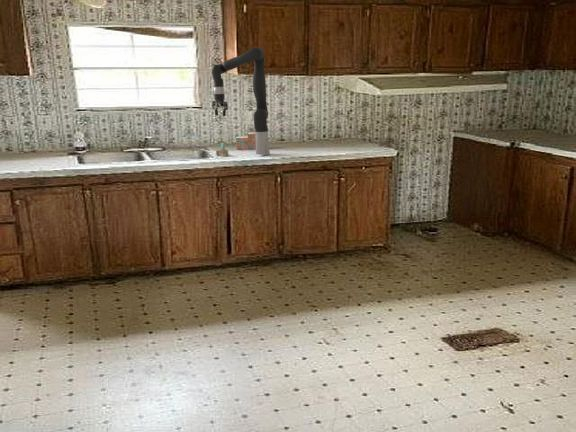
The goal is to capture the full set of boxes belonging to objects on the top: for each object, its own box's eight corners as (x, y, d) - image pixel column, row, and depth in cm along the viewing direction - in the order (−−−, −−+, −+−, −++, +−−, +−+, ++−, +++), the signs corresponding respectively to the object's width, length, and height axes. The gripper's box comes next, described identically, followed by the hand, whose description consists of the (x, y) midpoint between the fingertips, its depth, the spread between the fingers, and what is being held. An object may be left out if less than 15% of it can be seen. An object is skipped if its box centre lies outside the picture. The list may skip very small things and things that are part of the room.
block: (223, 154, 403) (223, 149, 402) (228, 155, 400) (228, 149, 398) (218, 155, 399) (217, 150, 398) (222, 156, 396) (222, 150, 395)
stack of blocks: (236, 149, 429) (235, 133, 426) (237, 148, 435) (236, 132, 432) (264, 149, 429) (263, 133, 426) (264, 147, 435) (263, 132, 432)
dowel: (223, 155, 401) (223, 143, 398) (225, 155, 399) (225, 143, 397) (221, 155, 399) (220, 143, 397) (223, 156, 398) (222, 143, 395)
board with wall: (223, 155, 405) (223, 149, 403) (231, 157, 399) (231, 150, 398) (216, 157, 400) (215, 150, 398) (224, 158, 394) (223, 151, 393)
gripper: (229, 93, 399) (230, 115, 403) (216, 92, 408) (218, 114, 413) (221, 93, 393) (222, 116, 398) (208, 93, 403) (210, 115, 407)
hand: (220, 115), depth 405 cm, fingers open, 8 cm apart
